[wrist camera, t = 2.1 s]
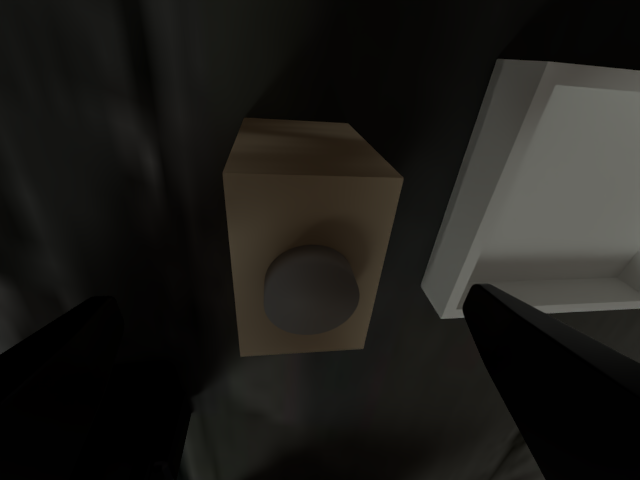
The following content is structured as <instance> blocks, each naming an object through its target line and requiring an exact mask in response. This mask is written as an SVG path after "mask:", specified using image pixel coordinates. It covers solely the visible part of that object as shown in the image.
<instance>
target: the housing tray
mask: <svg viewBox="0 0 640 480" xmlns="http://www.w3.org/2000/svg"><path fill="white" fill-rule="evenodd" d="M479 283H488V284H491V285H493V286H495V287H497V288H499V289H501V290H502V291H504V292H506V293H508V294H510V295H512V296H514V297H516V298H518V299H519V300H521V301H523V302H525V303H527V304H529V305H531V306H533V307H534V308H536V309H538V310H540V311H542V312H544V313H562V312H581V311H600V310H619V309H638V308H640V71H638V70H628V69H618V68H608V67H599V66H589V65H579V64H569V63H559V62H549V61H529V60H510V59H497V60H496V63H495V66H494V69H493V72H492V75H491V78H490V81H489V84H488V87H487V90H486V93H485V96H484V99H483V102H482V105H481V108H480V111H479V114H478V117H477V120H476V123H475V126H474V129H473V132H472V135H471V138H470V140H469V143H468V146H467V149H466V152H465V155H464V158H463V161H462V164H461V167H460V170H459V173H458V176H457V179H456V182H455V185H454V188H453V191H452V194H451V197H450V200H449V203H448V206H447V209H446V212H445V215H444V218H443V221H442V223H441V226H440V229H439V232H438V235H437V238H436V241H435V244H434V247H433V250H432V253H431V256H430V259H429V262H428V265H427V268H426V271H425V274H424V277H423V280H422V283H421V288H422V289H423V291H424V292H425V294H426V296H427V297H428V299H429V300H430V302H431V304H432V305H433V307H434V308H435V310H436V312H437V313H438V315H439V316H440V318H441V319H446V318H465V317H464V315H463V311H462V307H463V303H464V301H465V299H466V297H467V294H468V292H469V290H470V288H471V286H472V285H474V284H479Z"/></svg>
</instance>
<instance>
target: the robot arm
mask: <svg viewBox="0 0 640 480" xmlns="http://www.w3.org/2000/svg"><path fill="white" fill-rule="evenodd" d="M462 311H463V315H464V317H465V320H466V322H467V324H468V327H469V329H470V332H471V334H472V336H473V339H474V341H475V344H476V346H477V348H478V351H479V353H480V356H481V358H482V360H483V362H484V364H485V367H486V369H487V370H488V372H489V374H490V376H491V378H492V380H493V382H494V384H495V386H496V388H497V389H498V391H499V393H500V395H501V397H502V399H503V401H504V403H505V404H506V406H507V408H508V410H509V412H510V414H511V416H512V417H513V419H514V421H515V423H516V425H517V427H518V429H519V431H520V432H521V434H522V436H523V438H524V440H525V442H526V444H527V446H528V447H529V449H530V451H531V453H532V455H533V457H534V459H535V461H536V462H537V464H538V466H539V468H540V470H541V472H542V474H543V476H544V477H545V479H546V480H640V363H638V362H636V361H634V360H632V359H630V358H629V357H627V356H625V355H623V354H621V353H619V352H617V351H615V350H613V349H612V348H610V347H608V346H606V345H604V344H602V343H600V342H598V341H597V340H595V339H593V338H591V337H589V336H587V335H585V334H583V333H581V332H580V331H578V330H576V329H574V328H572V327H570V326H568V325H566V324H565V323H563V322H561V321H559V320H557V319H555V318H553V317H551V316H550V315H548V314H546V313H544V312H542V311H540V310H538V309H536V308H534V307H533V306H531V305H529V304H527V303H525V302H523V301H521V300H519V299H518V298H516V297H514V296H512V295H510V294H508V293H506V292H504V291H502V290H501V289H499V288H497V287H495V286H493V285H491V284H488V283H479V284H474V285H472V286H471V288H470V290H469V292H468V294H467V297H466V299H465V301H464V303H463V307H462ZM123 331H124V320H123V317H122V314H121V312H120V309H119V307H118V304H117V301H116V299H115V298H114V297H112V296H94V297H91V298H89V299H87V300H85V301H84V302H82V303H81V304H79V305H78V306H76V307H74V308H73V309H71V310H70V311H68V312H67V313H65V314H63V315H62V316H60V317H59V318H57V319H56V320H54V321H52V322H51V323H49V324H48V325H46V326H45V327H43V328H41V329H40V330H38V331H37V332H35V333H34V334H32V335H30V336H29V337H27V338H26V339H24V340H23V341H21V342H19V343H18V344H16V345H15V346H13V347H12V348H10V349H8V350H7V351H5V352H4V353H2V354H0V480H177V476H178V472H179V467H180V462H181V458H182V453H183V449H184V444H185V439H186V435H187V430H188V426H189V421H190V417H191V410H190V406H189V403H188V399H187V396H186V392H185V391H184V390H183V389H181V386H180V383H179V379H178V376H177V372H176V369H175V367H174V366H173V365H172V364H169V363H160V364H145V365H130V366H115V367H113V365H114V361H115V358H116V355H117V351H118V348H119V345H120V342H121V338H122V335H123Z"/></svg>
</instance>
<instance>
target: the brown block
mask: <svg viewBox="0 0 640 480" xmlns="http://www.w3.org/2000/svg"><path fill="white" fill-rule="evenodd" d="M222 174H223V184H224V195H225V205H226V215H227V225H228V235H229V246H230V256H231V266H232V276H233V286H234V297H235V307H236V317H237V327H238V337H239V348H240V357H244V356H259V355H275V354H290V353H305V352H321V351H336V350H351V349H363V347H364V343H365V339H366V335H367V330H368V326H369V322H370V318H371V314H372V309H373V305H374V301H375V297H376V293H377V288H378V284H379V280H380V276H381V272H382V267H383V263H384V259H385V255H386V251H387V246H388V242H389V238H390V234H391V230H392V225H393V221H394V217H395V213H396V209H397V204H398V200H399V196H400V192H401V188H402V183H403V179H404V178H403V177H402V176H401V175H400V174H399V173H398V172H397V171H396V170H395V169H394V168H393V167H392V166H391V165H390V164H389V163H388V162H387V161H386V160H385V159H384V158H383V157H382V156H381V155H380V154H379V153H378V152H377V151H376V150H375V149H374V148H373V147H372V146H371V145H370V144H369V143H368V142H367V141H366V140H365V139H364V138H363V137H362V136H361V135H359V134H358V133H357V132H356V131H355V130H354V129H353V128H352V127H351V126H350V125H349V124H348V123H333V122H315V121H297V120H279V119H261V118H244V119H243V122H242V124H241V127H240V129H239V132H238V135H237V137H236V140H235V142H234V145H233V147H232V150H231V152H230V155H229V157H228V160H227V163H226V165H225V168H224V170H223V173H222Z"/></svg>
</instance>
